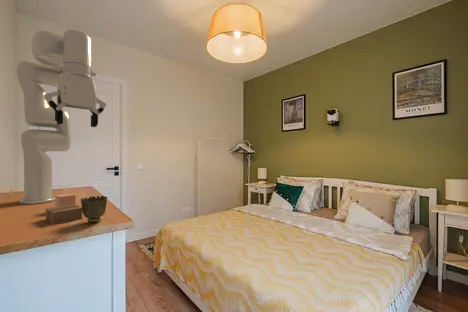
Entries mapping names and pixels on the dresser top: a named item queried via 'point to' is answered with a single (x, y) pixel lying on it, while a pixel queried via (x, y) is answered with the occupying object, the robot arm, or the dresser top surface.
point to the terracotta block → (64, 199)
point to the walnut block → (63, 214)
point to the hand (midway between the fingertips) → (77, 125)
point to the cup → (93, 208)
